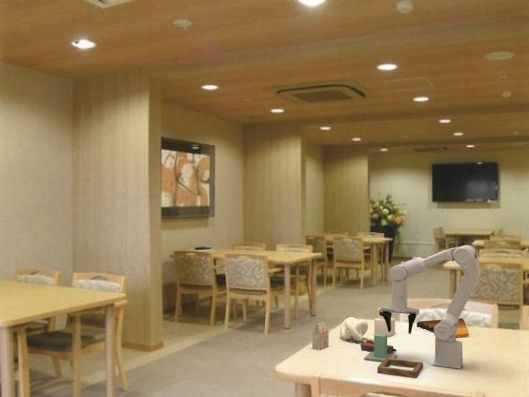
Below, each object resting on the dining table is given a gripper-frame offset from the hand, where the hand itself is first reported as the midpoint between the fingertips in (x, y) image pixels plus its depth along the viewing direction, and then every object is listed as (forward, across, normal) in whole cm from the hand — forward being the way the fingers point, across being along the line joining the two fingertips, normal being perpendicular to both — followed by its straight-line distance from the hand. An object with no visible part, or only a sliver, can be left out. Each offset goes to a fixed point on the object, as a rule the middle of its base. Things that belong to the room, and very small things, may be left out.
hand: (399, 332), depth 211 cm
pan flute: (+10, +14, +58) cm, 60 cm away
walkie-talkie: (+10, -12, +7) cm, 18 cm away
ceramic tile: (+9, -6, -4) cm, 12 cm away
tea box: (+10, -32, 0) cm, 33 cm away
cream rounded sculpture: (+10, -23, +20) cm, 32 cm away
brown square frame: (+10, +4, -17) cm, 19 cm away
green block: (+9, -6, -4) cm, 12 cm away
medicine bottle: (+10, -14, +35) cm, 38 cm away
